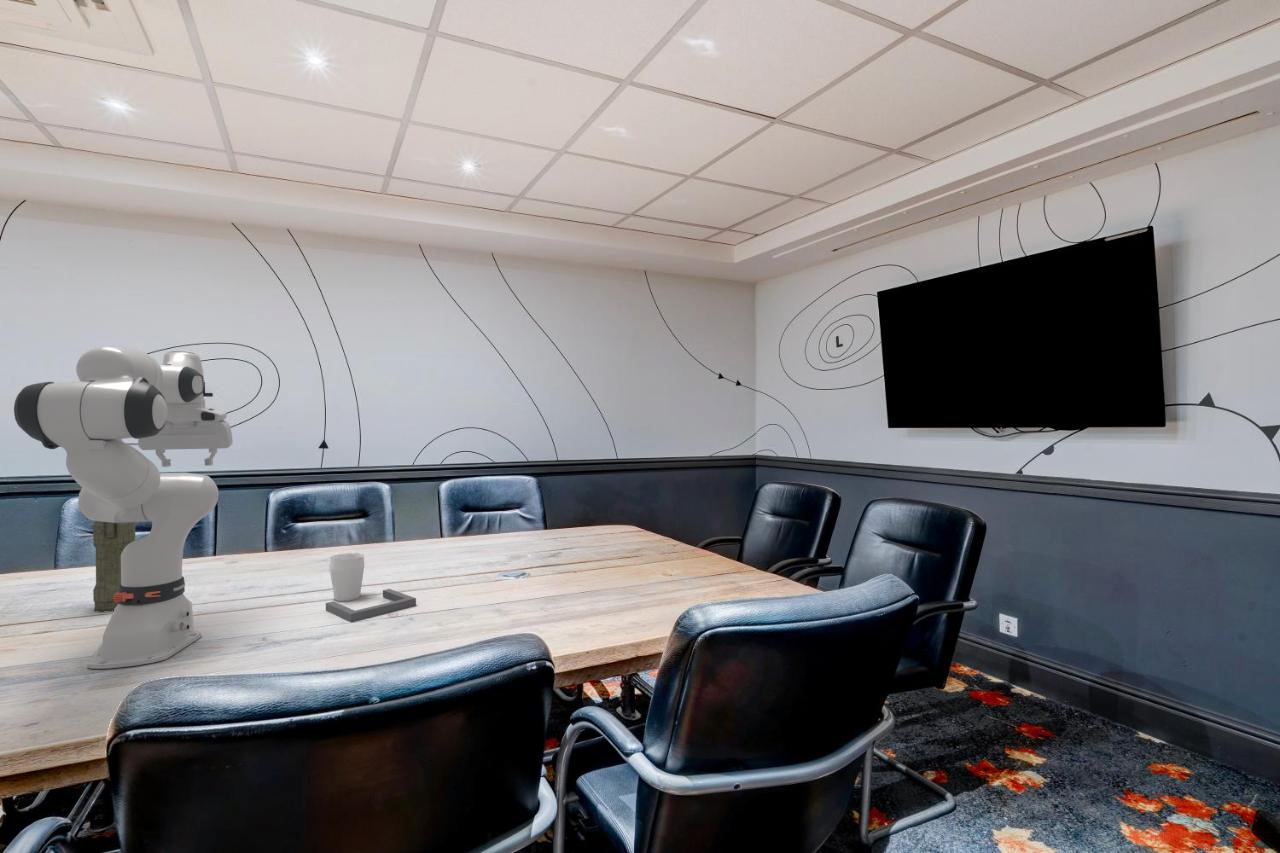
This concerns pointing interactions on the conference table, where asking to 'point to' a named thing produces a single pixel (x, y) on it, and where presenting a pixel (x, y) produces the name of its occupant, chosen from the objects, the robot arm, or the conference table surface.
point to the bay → (398, 603)
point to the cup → (347, 575)
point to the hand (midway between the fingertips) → (187, 465)
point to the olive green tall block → (109, 560)
